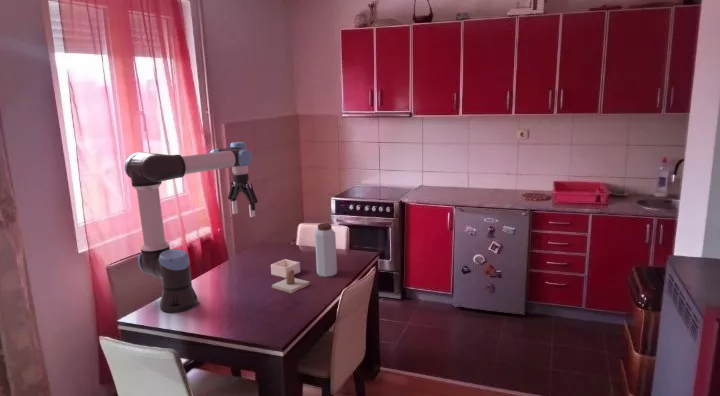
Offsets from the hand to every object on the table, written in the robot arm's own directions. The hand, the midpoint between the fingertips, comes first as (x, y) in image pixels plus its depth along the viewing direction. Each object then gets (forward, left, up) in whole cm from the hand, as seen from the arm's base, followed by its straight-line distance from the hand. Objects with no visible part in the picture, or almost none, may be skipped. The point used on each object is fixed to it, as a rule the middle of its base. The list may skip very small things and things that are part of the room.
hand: (243, 215), depth 256 cm
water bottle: (+13, -42, -28) cm, 52 cm away
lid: (-8, -38, -27) cm, 47 cm away
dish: (+3, -24, -28) cm, 37 cm away
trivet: (-8, -38, -28) cm, 48 cm away
